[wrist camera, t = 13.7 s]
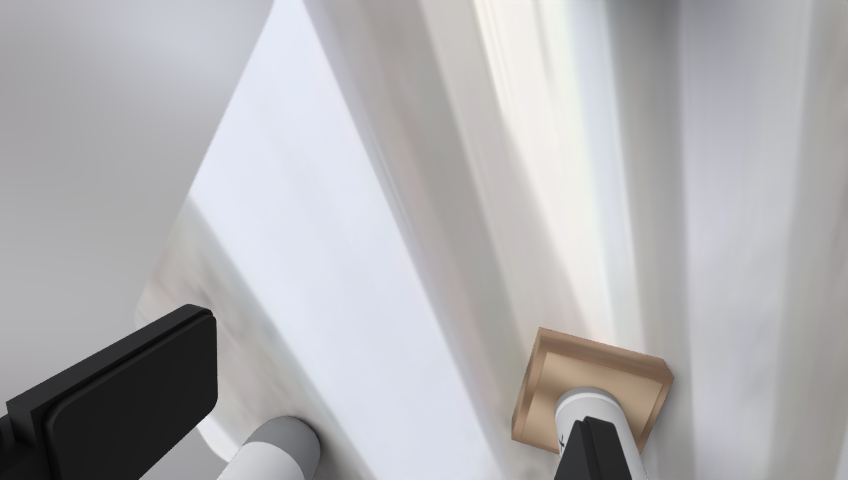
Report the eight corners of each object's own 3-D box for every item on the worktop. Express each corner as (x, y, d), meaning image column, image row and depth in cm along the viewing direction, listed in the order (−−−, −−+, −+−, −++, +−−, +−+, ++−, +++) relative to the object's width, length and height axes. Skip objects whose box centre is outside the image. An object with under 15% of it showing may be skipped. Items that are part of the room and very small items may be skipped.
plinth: (539, 327, 40) (541, 343, 37) (662, 359, 38) (675, 379, 35) (511, 419, 44) (511, 441, 41) (622, 452, 42) (631, 478, 39)
